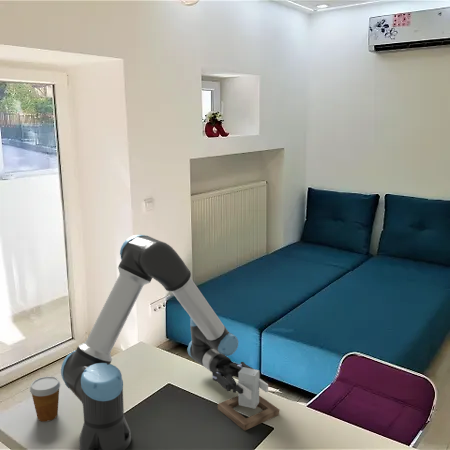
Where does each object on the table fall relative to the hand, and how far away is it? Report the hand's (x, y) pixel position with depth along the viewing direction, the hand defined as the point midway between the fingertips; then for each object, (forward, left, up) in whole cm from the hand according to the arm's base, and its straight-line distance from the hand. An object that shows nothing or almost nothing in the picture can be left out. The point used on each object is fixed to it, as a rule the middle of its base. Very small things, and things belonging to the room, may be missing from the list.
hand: (258, 391), depth 159 cm
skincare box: (0, +5, -7) cm, 9 cm away
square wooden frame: (0, +5, -10) cm, 11 cm away
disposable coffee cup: (-55, +42, -10) cm, 70 cm away
